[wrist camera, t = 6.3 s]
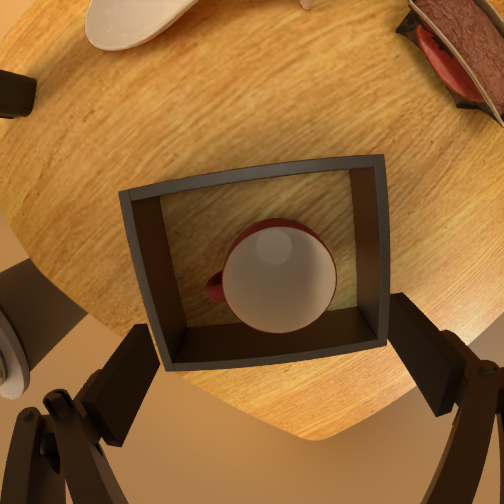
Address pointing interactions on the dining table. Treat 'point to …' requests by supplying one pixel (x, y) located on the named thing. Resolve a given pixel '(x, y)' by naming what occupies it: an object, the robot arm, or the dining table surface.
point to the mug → (276, 277)
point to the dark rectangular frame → (239, 334)
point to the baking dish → (462, 49)
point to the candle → (16, 94)
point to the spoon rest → (135, 20)
